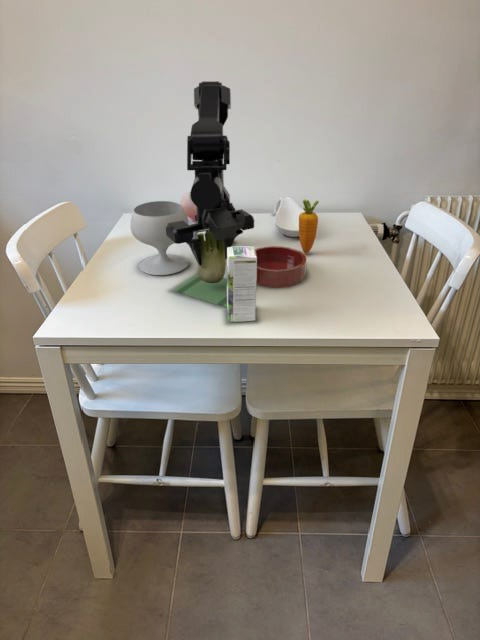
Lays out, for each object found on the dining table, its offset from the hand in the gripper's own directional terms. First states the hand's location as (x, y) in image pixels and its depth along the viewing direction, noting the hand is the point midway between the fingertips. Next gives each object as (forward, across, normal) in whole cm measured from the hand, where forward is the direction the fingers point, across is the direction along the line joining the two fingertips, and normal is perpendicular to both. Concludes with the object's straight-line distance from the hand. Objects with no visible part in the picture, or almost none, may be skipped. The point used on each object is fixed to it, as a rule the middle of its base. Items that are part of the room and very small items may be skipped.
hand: (212, 262), depth 108 cm
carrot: (+7, +30, +6) cm, 31 cm away
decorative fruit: (+7, +15, +44) cm, 47 cm away
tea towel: (+7, 0, 0) cm, 7 cm away
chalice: (+7, -6, +17) cm, 20 cm away
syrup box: (+7, 0, -14) cm, 15 cm away
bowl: (+7, +17, 0) cm, 18 cm away
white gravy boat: (+7, +37, +25) cm, 45 cm away
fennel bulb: (+5, 0, 0) cm, 5 cm away
